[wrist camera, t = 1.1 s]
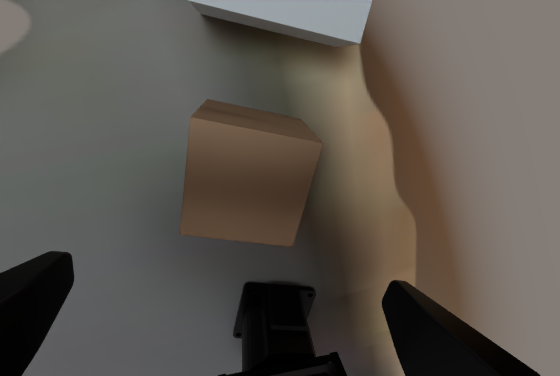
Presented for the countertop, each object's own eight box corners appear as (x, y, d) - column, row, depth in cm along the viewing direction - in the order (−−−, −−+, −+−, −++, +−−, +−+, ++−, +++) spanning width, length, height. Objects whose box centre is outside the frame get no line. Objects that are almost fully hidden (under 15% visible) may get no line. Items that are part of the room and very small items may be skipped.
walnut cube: (279, 197, 20) (292, 247, 15) (197, 185, 19) (179, 234, 14) (299, 118, 18) (323, 143, 13) (207, 99, 17) (190, 117, 11)
